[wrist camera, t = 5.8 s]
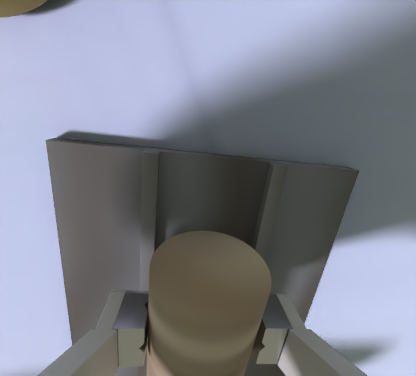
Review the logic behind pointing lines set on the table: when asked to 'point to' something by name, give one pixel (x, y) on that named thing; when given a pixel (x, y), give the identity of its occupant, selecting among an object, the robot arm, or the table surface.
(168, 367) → the wooden roller
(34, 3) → the paper tube
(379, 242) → the table surface
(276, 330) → the robot arm
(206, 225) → the collar stand
